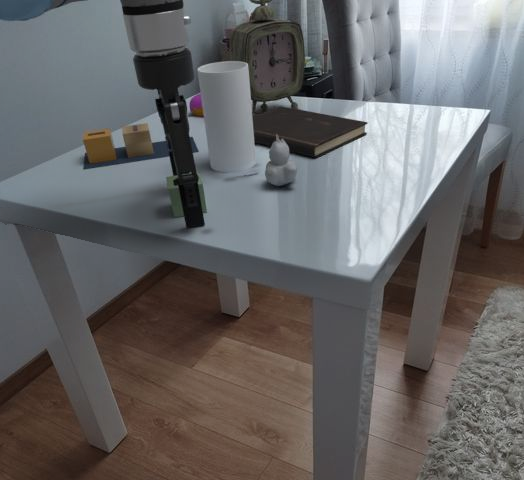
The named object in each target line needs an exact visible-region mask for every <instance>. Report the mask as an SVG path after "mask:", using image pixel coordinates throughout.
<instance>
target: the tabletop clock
mask: <svg viewBox="0 0 524 480" xmlns="http://www.w3.org/2000/svg"><path fill="white" fill-rule="evenodd" d="M249 1H250V3H253V4H254V5H258V6H256V7H255V8H254V9H253V11H252V14H251V18H250V21H246V22H241V23H240V24H237V25H236V26H234V27H233V28H232V29H231V31H230V35H229V45H228V49H229V50H228V51H229V52H228V53H229V61H239V62H245V63H247V64H248V69H249V81H250V94H251V104H252V117H253V116H255V115H258V114H257V112H256V108H257V103H261V105H260V110H261V111H263V112H266V111H268V107H269V106H268V104H267V103H269V102H275V101H280V100H284V99H286V98H287V100H288V101H289V103H290V108H293V109H298V108H299V105H298V102H296V101H294V100H293V99H292V97H293V96H295V95H296V94H297V93H299V92H300V91H302V89H303V85H304V80H305V68H306V67H305V66H306V65H305V64H306V52H305V51H306V50H305V40H304V39H305V38H304V34H303V29H302V27H301V24H300V23H298V22H295V21H291V20H284V19H278V18H277V15H276V12H275V10H274V9H273V7H272V6H270V5H266V4H269V3H271V2H272V1H273V0H249Z"/></svg>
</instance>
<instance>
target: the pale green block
mask: <svg viewBox="0 0 524 480" xmlns="http://www.w3.org/2000/svg"><path fill="white" fill-rule="evenodd" d="M188 174H192V173H191V172H190V173H188ZM182 175H186V174H182ZM197 175H198V177H199V179H198V180H199V181H198V187H199V193H200V199H201V205H202V211H203V214H205V213H207V212H208V209H207V204H206V197H205V196H206V195H205V190H204V184H203V181H202V178H201V176H200V173H199V171H197ZM165 179H166V185H167V189H168V194H169V199H170V204H171V205H170V206H171V208H172V212H173V216H174V218H181V217H184V213H183V208H182V203H181V198H180V193H179V187H178V185H177V186H174V183H173V180H175V179H178V176H177V175H176V176H173V175H170V176H166V177H165Z"/></svg>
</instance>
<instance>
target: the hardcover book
mask: <svg viewBox="0 0 524 480" xmlns="http://www.w3.org/2000/svg"><path fill="white" fill-rule="evenodd" d="M252 119H253V131H254V144H258V145H263V146H266V147H270V148H271V147H272V143H274V141H276V134H277V135H278V138H279V140H281V139H282V138H283V140H284V141H285V143H286V144H287V145H288V147H289V153H290V152H291V153H294V154H299V155H302V156H307V157H310V158H313V159H317V158H320V157H321V156H323V155H326V154H328V153H330V152H332V151H334V150H336V149H339V148H341V147H343V146H345V145H347V144H350V143H352V142H354V141H356V140H358V139H360V138H362V137H364V136H366V135H367V134H368V133H367V132H366V125H368V123H369V122H367V121H363V120H358V119H352V118H347V117H342V116H336V115H330V114H326V113H320V112H315V111H310V110H303V109H298V108H297V109H293V108H291V107H287V106H282V105H280V106H277V107H275V108H272V109H269V110H266V111H263V112H261V113H258V114H257V115H255V116H253V117H252Z"/></svg>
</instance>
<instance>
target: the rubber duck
mask: <svg viewBox="0 0 524 480" xmlns="http://www.w3.org/2000/svg"><path fill="white" fill-rule="evenodd" d="M268 154H269V155H268V158H269V160H270V161H268V162H267V163H266V166H265V170H264V175H265V179H266V181H267V182H268V183H269V184H271V185H273V186H276V187H280V186H281V187H282V186H285V185H288V184H289V183H294V182H295V181H297V173H298V165H297V163H296V161H294V160H291V159H290V151H289V147H288V145H287V144H286V143H285V141H284V140H283V138H282V139H281V140H279V138H278V135H277V134H276V141H274V143H272V147H270V148H269V151H268Z"/></svg>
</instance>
